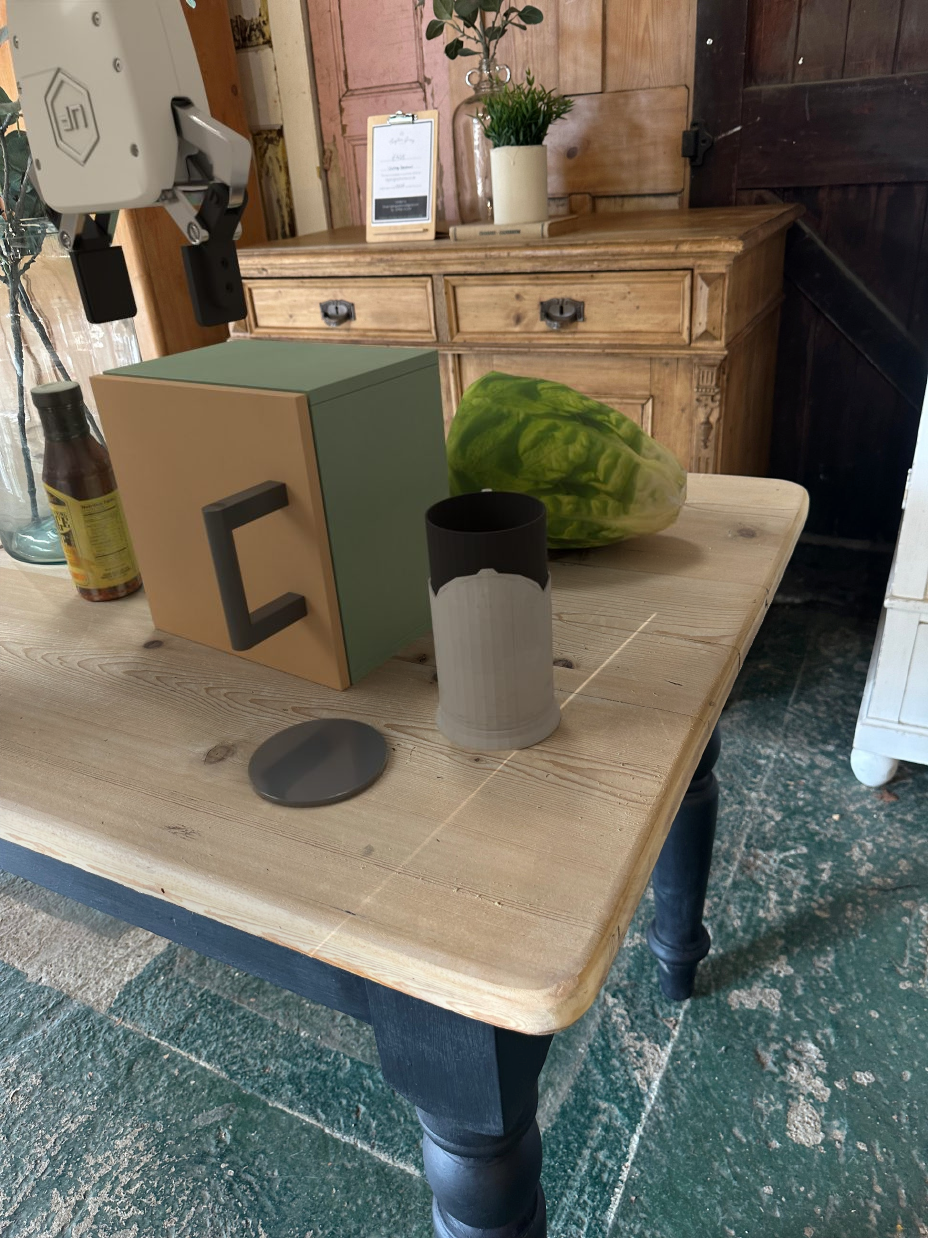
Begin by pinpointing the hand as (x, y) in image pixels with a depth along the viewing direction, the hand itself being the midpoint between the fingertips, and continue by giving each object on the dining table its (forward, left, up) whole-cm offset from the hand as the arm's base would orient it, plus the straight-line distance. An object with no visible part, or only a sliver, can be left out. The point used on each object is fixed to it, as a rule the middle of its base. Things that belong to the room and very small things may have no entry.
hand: (165, 321), depth 49 cm
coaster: (+5, -7, -27) cm, 28 cm away
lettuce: (+30, +24, -27) cm, 47 cm away
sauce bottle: (-14, +27, -27) cm, 41 cm away
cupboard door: (-3, +7, -27) cm, 28 cm away
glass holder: (+18, -2, -27) cm, 33 cm away
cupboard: (+5, +15, -27) cm, 31 cm away
